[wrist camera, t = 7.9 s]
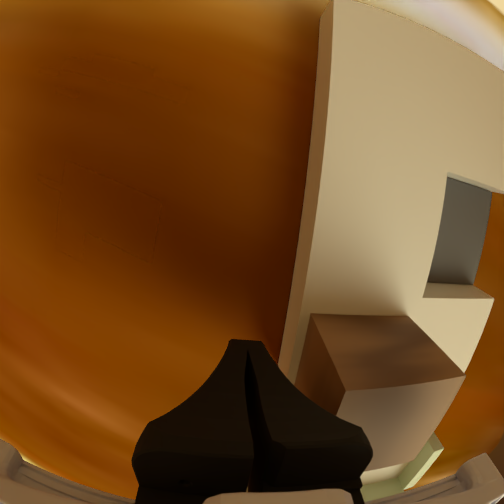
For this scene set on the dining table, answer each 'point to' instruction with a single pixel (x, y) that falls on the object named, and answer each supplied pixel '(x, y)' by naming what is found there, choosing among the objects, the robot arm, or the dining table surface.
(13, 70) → the dining table surface
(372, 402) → the walnut block
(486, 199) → the board
